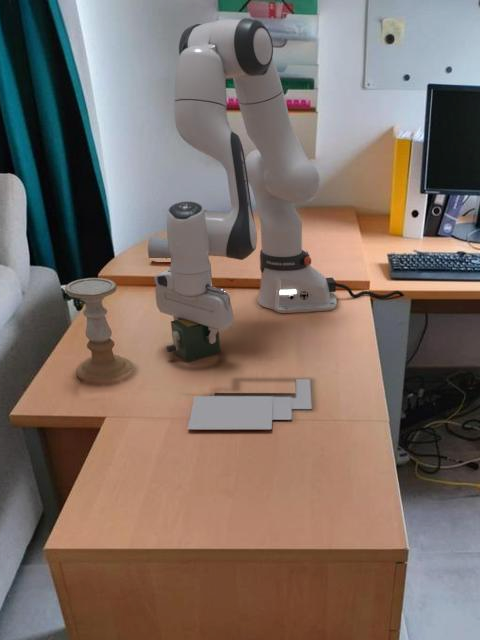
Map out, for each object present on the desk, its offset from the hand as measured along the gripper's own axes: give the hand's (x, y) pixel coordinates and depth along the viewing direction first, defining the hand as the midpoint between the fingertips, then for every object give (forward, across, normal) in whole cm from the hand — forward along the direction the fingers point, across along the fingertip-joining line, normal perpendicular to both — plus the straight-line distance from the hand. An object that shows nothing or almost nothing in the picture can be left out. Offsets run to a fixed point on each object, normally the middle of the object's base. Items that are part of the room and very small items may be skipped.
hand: (197, 338), depth 168 cm
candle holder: (+5, +12, +18) cm, 22 cm away
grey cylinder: (+6, +56, -49) cm, 74 cm away
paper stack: (+5, -24, +12) cm, 27 cm away
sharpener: (+4, +1, +2) cm, 4 cm away
